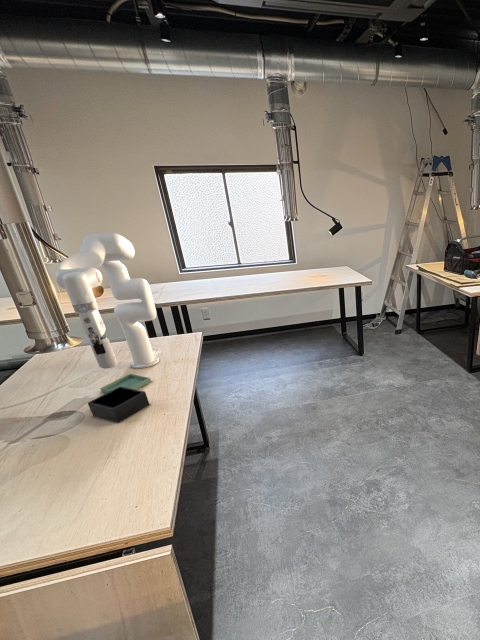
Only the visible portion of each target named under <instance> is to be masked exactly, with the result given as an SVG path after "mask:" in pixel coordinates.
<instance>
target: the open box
mask: <svg viewBox="0 0 480 640" xmlns="http://www.w3.org/2000/svg"><path fill="white" fill-rule="evenodd" d="M87 405H88V407H89V410H90V412H91V415H92V417H94V418H97V419H101V420H106V421H109V422H114V423H117V424H119V423H121V422H123V421H125V420H127V419H128V418H130V417H132V416H133V415H135V414H137V413H139V412H141V411H142V410H144V409H145V408H147V407H149V406H150V405H151V404H150V401H149V399H148V396H147V393H146V391H143V390H138V389H136V390H135V389H130V388H125V387H121V386H120V387H118V388H116V389H114V390H112V391H110V392H108V393H104V394H102V395H101V396H98V397H96V398H94V399H93V400H90V401H88V402H87Z"/></svg>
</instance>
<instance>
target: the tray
mask: <svg viewBox="0 0 480 640" xmlns="http://www.w3.org/2000/svg"><path fill="white" fill-rule="evenodd" d="M151 382H152V379H151V377H147V376H144V375H143V376H142V375H137V374H134V373H129V374H127V375H125V376H122V377H120V378H119V379H116V380H114V381H113V382H110V383H108V384H106V385H103V386H102V387H100V388H99V389H100V392H101V393H104V394H106V393H108V392H110V391H112V390H114V389H116V388H118V387H120V386H121V387H125V388H130V389H135V390H138V389H140V388H142V387H144V386H146V385H148V384H150V383H151Z"/></svg>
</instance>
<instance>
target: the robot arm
mask: <svg viewBox="0 0 480 640" xmlns="http://www.w3.org/2000/svg"><path fill="white" fill-rule="evenodd" d="M134 258H135V249H134V246H133V244H132V243H131V242H130V240H129V239H126V238H125V237H124V236H123V235H121V234H119V233H117V232H100V233H99V232H98V233H89V234H87V235H86V236H85V237H84V238H83V241H82V243H81V246H80V248H79V250H78V252H75V253H73V254H71V255H70V256H68V257H66V258H65V259H63V260H62V261H61V262H60V263H58V266H57V269H56V270H55V281H56V283H57V286H59V288H61V289H63V290H66V293H67V295H68V298H69V300H70V303H71V306H72V308H73V310H74V313H75V314H78V316H79V319H80V322H81V324H82V328H83V330H84V333H85V335H86V337H87V338H88V339H89V341H90V340H91V342H92V345H93V347H94V350H95V352H96V354H97V355H98V354H104V353H106V351H105V348H104V346H103V343H101V340H100V336H101V337H102V336H106V334H105V332H106V331H107V328H106V325H105V323H104V320H103V318H102V316H101V314H100V311H99V306H98V303H97V300H96V297H95V295H94V292H93V289H95V288H98V287H100V286H101V284H102V282H103V274H102V273H101V272H100V270H99V269H98V268H101V267H102V268H103V271H104V272H105V274H106V277H107V281H108V284H109V287H110V291H111V293H112V296H113V298H114V299H115V300H117V301H129V300H131V301H130V302H123V303H119V304H117V305H115V307H114V308H113V314H114V317H115V318H116V320H117V323H118V324H119V326H120V328H121V330H122V334H123V335H124V338H125V341H126V344H127V347H128V349H129V352H130V356H131V359H132V362H131V363H130V366H131V367H132V368H133V369H144V368H149V367H152V366H154V365H156V364H158V362H160V360H159V357H157V356H159V355H161V354H162V353H163V352H162V350H161V349H158V350H153V348H152V345H151V342H150V339H149V336H148V333H147V330H146V328H145V327H144V326H143V324H141V323H142V322H150V321H154V320H155V319H157V314H158V313H157V308H156V305H155V301H154V298H153V294H152V290H151V287H150V284H149V283H148V281H147V280H146V279H144V278H142V277H135V278H130V276H129V272H128V269H127V267H126V266H125V264H123V263H122V262H121V261H129V260H132V259H134ZM132 300H140V301H132ZM95 338H98V340H97V339H95Z"/></svg>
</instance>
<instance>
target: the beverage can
mask: <svg viewBox="0 0 480 640" xmlns="http://www.w3.org/2000/svg"><path fill="white" fill-rule="evenodd" d="M95 339H97V340H98V338H95ZM100 340H101V343H103V346H104V348H105V351H106V353H104V354H98V355H97V354H96V352H95V350H94V347H93V345H92V342H91V340H90V339H89V345H90V347H91V350H92V353H93V355H94V357H95V360H96V363H97V364H98V367H99V368H100V369H111V368H114V367H115V366H116V365H117V364H118V360H117V358H116V355H115V352H114V350H113V347H112V345H111V341H110V339H109V338H107V336H106V335H105V336H102V337H101V336H100Z"/></svg>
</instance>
